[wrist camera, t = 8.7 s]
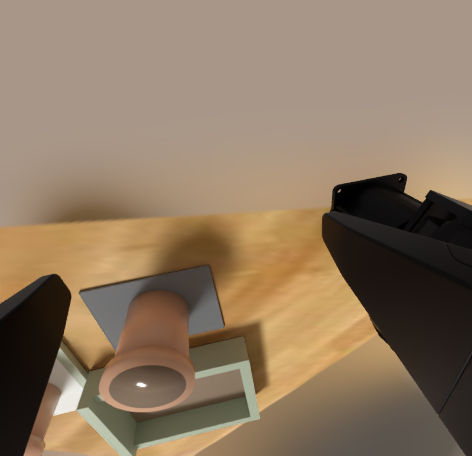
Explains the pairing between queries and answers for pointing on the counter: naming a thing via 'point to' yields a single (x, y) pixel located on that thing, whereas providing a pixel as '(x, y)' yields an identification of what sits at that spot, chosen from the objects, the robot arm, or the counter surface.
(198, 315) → the mat
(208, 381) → the green shallow rectangular frame
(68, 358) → the white square board
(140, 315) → the pot
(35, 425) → the pot
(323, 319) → the counter surface
